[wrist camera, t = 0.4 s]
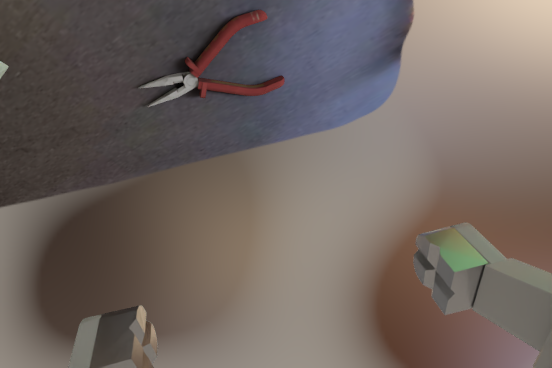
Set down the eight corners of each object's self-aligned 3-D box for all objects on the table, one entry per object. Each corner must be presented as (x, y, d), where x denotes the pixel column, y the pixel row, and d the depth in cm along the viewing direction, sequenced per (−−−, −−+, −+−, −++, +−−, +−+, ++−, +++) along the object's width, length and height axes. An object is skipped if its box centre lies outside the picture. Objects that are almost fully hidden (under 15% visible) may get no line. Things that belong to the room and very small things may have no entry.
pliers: (123, 55, 49) (121, 60, 47) (262, 5, 51) (266, 7, 49) (161, 128, 56) (161, 135, 54) (283, 82, 57) (288, 87, 55)
